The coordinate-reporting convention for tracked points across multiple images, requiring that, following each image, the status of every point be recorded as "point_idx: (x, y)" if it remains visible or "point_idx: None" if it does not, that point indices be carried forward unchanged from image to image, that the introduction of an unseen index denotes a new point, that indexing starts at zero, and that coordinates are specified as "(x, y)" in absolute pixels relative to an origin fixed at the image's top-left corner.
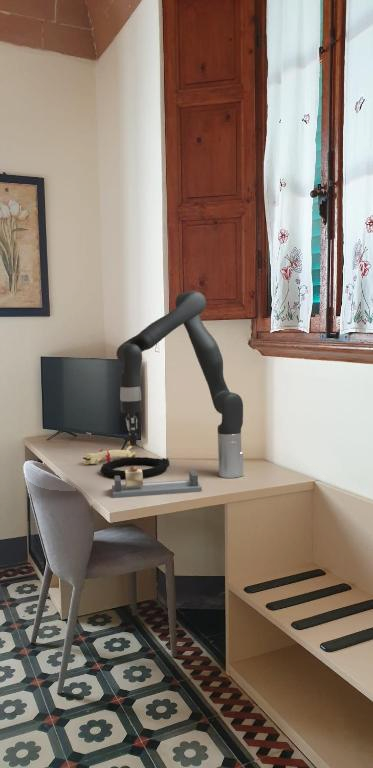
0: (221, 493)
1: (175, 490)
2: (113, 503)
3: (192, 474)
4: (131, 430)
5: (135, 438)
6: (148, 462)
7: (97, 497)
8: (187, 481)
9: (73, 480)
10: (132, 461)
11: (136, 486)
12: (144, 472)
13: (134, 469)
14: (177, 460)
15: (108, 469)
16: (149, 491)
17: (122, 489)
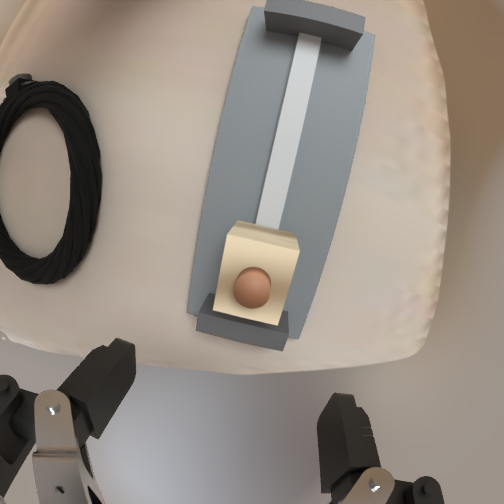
0: (410, 15)
1: (360, 119)
2: (353, 342)
3: (340, 23)
4: (84, 426)
5: (361, 442)
6: (2, 134)
7: (266, 364)
8: (309, 46)
9: (79, 352)
10: None
11: None
12: (90, 166)
13: (270, 288)
14: (8, 59)
15: (44, 274)
16: (337, 218)
17: None
